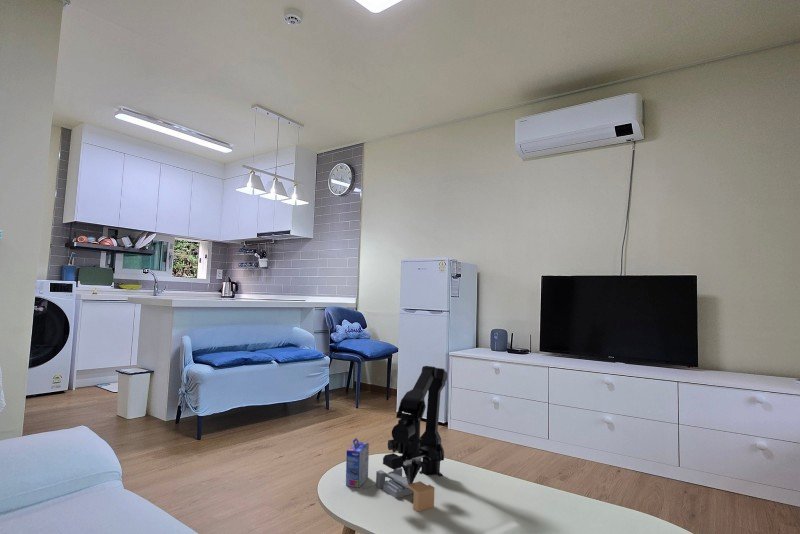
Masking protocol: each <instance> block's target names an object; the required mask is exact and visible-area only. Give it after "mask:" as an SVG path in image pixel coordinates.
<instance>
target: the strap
mask: <svg viewBox="0 0 800 534" xmlns="http://www.w3.org/2000/svg"><path fill="white" fill-rule="evenodd" d="M403 477H404V476H402V477H401V476H399V475H397V474H395V473H394V472H393V470H392V471H388V472H385V478H388V479H389V480H390V479H391V480H393V481H395V482H397V483H399V484H401V485H403V486H405V487H406V488H408V482H407V478H403Z"/></svg>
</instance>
